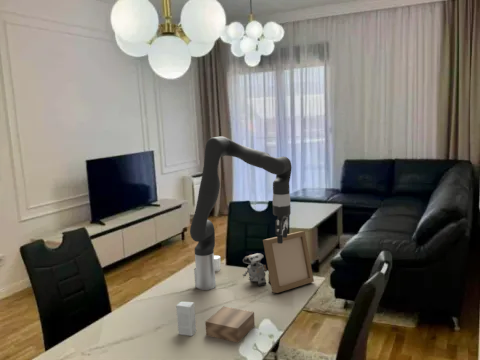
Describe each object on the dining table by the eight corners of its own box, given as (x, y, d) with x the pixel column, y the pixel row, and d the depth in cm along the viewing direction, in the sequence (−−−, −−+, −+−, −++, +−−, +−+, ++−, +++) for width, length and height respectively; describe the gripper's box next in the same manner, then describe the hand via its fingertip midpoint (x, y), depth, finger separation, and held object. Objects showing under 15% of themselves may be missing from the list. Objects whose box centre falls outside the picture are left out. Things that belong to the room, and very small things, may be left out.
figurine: (239, 283, 217) (238, 254, 215) (259, 278, 223) (258, 250, 220) (249, 289, 209) (247, 259, 207) (269, 284, 215) (268, 254, 213)
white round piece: (208, 267, 242) (207, 255, 241) (221, 266, 243) (220, 254, 241) (208, 272, 235) (208, 259, 234) (221, 271, 236) (220, 258, 235)
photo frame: (314, 283, 213) (312, 233, 209) (277, 295, 202) (274, 242, 198) (295, 274, 225) (293, 227, 222) (259, 285, 214) (256, 235, 211)
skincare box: (196, 331, 172) (194, 302, 171) (192, 336, 168) (189, 307, 167) (182, 329, 174) (180, 300, 173) (177, 334, 170) (175, 305, 169)
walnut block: (206, 336, 169) (205, 321, 168) (224, 320, 181) (223, 306, 180) (238, 343, 162) (237, 328, 161) (254, 326, 174) (254, 312, 174)
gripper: (277, 199, 195) (278, 235, 198) (268, 207, 182) (269, 244, 185) (293, 200, 193) (294, 236, 195) (286, 207, 180) (287, 245, 182)
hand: (282, 240), depth 190 cm, fingers open, 8 cm apart
